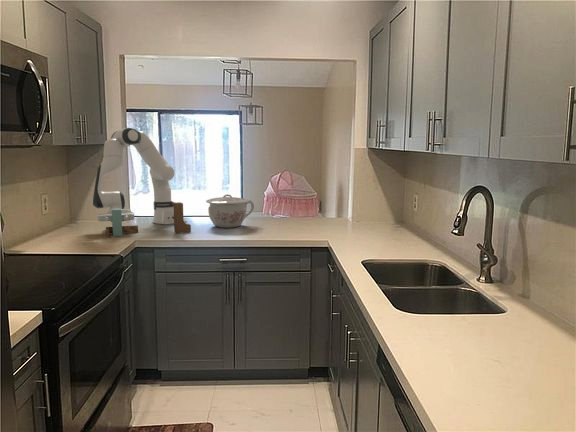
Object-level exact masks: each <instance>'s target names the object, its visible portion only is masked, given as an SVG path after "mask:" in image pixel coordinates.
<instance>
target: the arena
mask: <svg viewBox="0 0 576 432" xmlns="http://www.w3.org/2000/svg"><path fill="white" fill-rule="evenodd" d="M138 232H139V225H122V233H124V234H131V233H132V234H134V233H138ZM105 234H106V239H109V238H111V237H110V234H113V229H112V226H105Z"/></svg>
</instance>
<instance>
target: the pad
mask: <svg viewBox="0 0 576 432" xmlns="http://www.w3.org/2000/svg"><path fill="white" fill-rule="evenodd" d="M109 236H110V238H116V237H117V238H118V237H120V238H121V237H126V233H122V235H121V236H113V234H109Z"/></svg>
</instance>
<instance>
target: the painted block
mask: <svg viewBox="0 0 576 432" xmlns="http://www.w3.org/2000/svg"><path fill="white" fill-rule="evenodd" d="M122 226H123V221H122V217H121V208H120V209H112V222H111V227H112V229H113V236H121V235H122ZM121 237H122V236H121Z"/></svg>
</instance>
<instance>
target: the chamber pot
mask: <svg viewBox="0 0 576 432" xmlns="http://www.w3.org/2000/svg"><path fill="white" fill-rule="evenodd" d="M232 196H233V195H231V194H224V195H223V196H222V197H214V198H209V199H207V200H205V202H206V203H208V204H209V206H208V209H207V210H208V211H207V212H208V216H209V219H210V221H211V223H212V225H214V226H215V227H218V228H219V229H220V228H221V229H233V228H237V227H240V226H241V225H242V224H243V222H244V221H245V220H246V218H247V217H249V216H250V214H252V213H253V211H254V209H255V204H254V201H252V200H251V199H246V198H243V197H242V198H241V197H235V196H233V197H232ZM248 204H250V205H251V206H250V210H249V211H247V210H248V209H247V205H248Z"/></svg>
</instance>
